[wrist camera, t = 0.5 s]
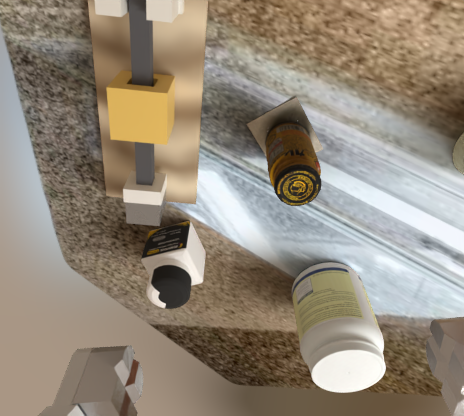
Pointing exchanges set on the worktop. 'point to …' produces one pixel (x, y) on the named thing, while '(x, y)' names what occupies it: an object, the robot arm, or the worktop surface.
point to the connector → (145, 213)
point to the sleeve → (141, 109)
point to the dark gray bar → (142, 80)
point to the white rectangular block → (145, 190)
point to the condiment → (290, 152)
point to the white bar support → (157, 9)
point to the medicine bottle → (173, 264)
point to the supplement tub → (337, 328)
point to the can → (459, 154)
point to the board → (186, 95)
